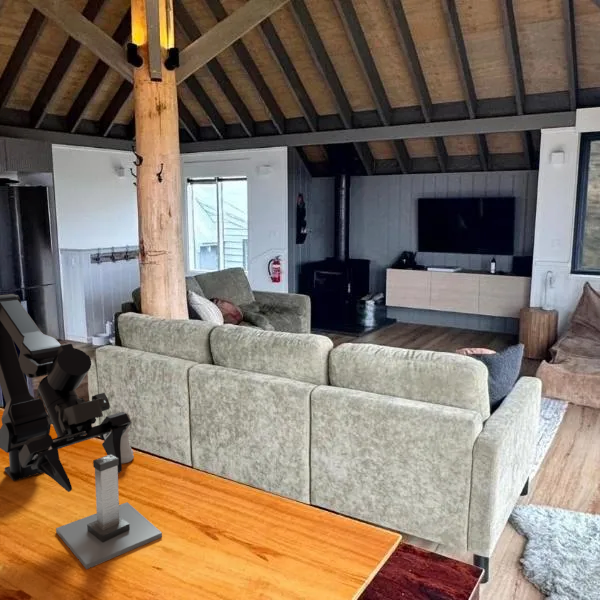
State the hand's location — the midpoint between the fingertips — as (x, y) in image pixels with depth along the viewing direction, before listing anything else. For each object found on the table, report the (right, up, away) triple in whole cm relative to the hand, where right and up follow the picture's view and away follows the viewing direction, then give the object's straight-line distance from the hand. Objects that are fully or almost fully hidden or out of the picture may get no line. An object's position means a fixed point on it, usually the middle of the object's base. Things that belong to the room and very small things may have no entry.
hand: (96, 480), depth 96 cm
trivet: (+3, -9, -1) cm, 9 cm away
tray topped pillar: (+3, -8, -1) cm, 9 cm away
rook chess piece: (-4, -4, +27) cm, 28 cm away
